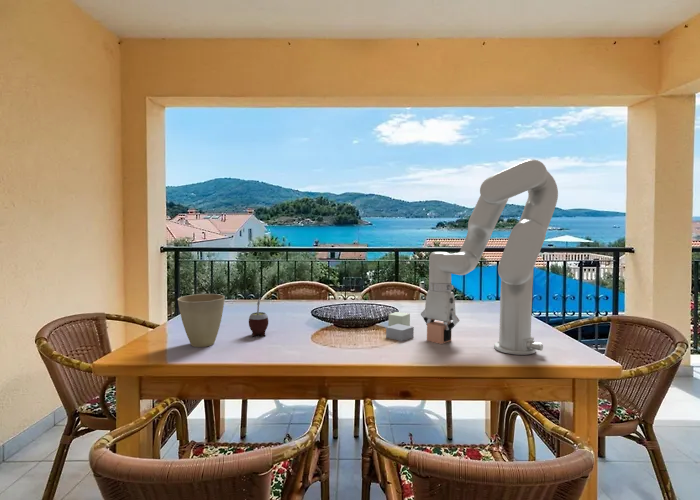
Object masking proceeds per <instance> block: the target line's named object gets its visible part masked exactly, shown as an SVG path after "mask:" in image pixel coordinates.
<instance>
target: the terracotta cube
mask: <svg viewBox="0 0 700 500" xmlns="http://www.w3.org/2000/svg"><path fill="white" fill-rule="evenodd" d="M452 329H453V328H452ZM452 329H451V332H452ZM444 330H445V326H444V322H443V321H439V320H435V321H434V322H431V323H427V325H426V341H427V342H432V343H437V344H440V345H443V344H446V343H449V342H452V338H451V339H450V340H449V341H444Z"/></svg>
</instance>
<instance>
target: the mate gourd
mask: <svg viewBox="0 0 700 500" xmlns="http://www.w3.org/2000/svg"><path fill="white" fill-rule="evenodd" d="M261 298H262V297H261V296H260V297H258V299H257V304H256V305H257V308H256V309H257V310H256V312H252V313H251V314H250V315H249V317H248V327H249V329H250V331H251V335H252V336H251V337H252V338H256V337H266V336H267V335H266V331H267V328H268V326H269V317H268V315H267V313H266V312H262V311H260V300H261Z"/></svg>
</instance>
